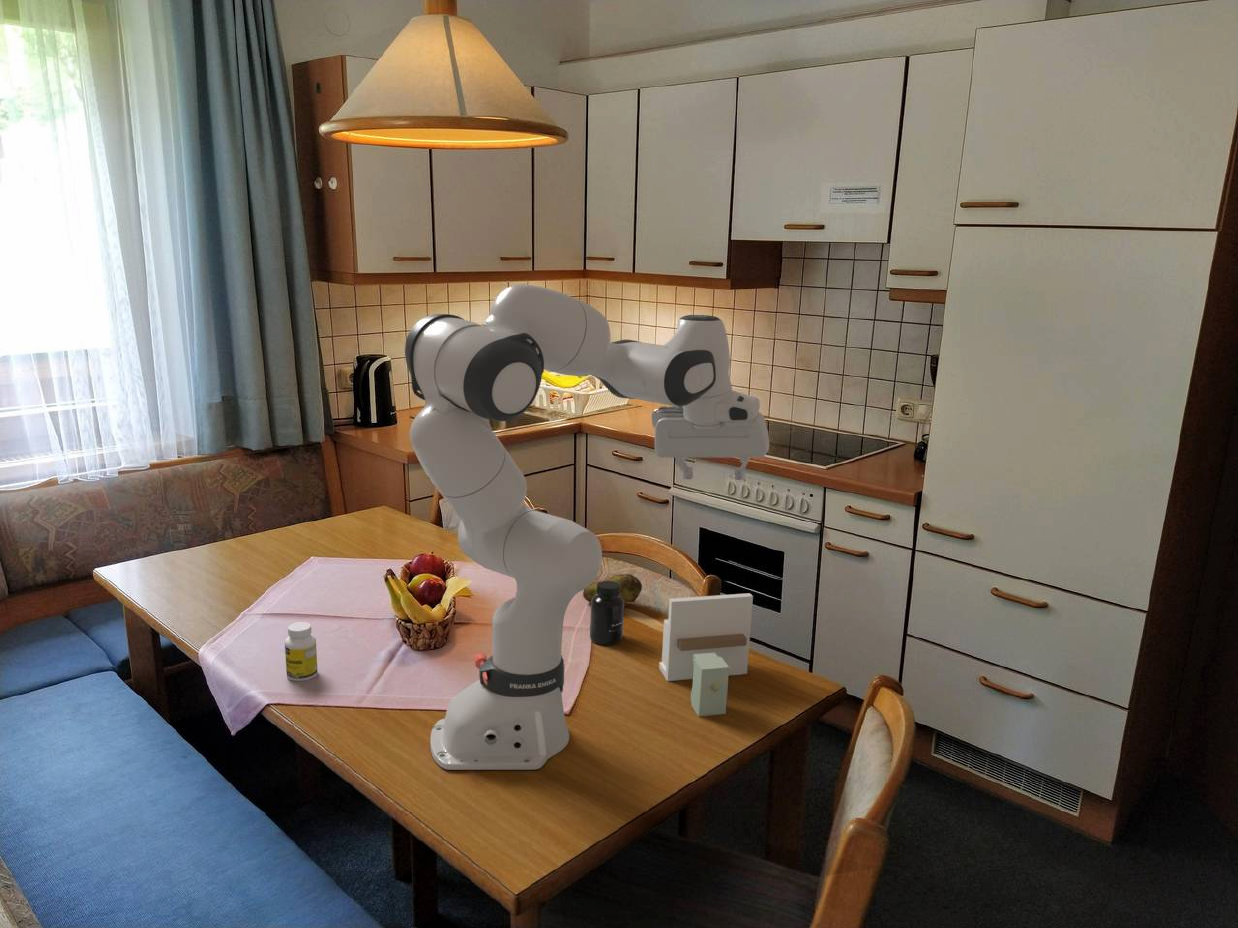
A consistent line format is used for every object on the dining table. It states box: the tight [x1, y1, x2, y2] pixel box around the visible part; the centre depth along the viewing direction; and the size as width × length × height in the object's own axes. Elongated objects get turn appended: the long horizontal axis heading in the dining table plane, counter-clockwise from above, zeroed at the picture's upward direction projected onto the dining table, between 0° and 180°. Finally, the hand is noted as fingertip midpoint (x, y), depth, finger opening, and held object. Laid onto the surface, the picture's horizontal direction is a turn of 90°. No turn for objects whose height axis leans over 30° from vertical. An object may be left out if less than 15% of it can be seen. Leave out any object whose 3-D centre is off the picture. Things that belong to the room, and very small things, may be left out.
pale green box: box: [690, 652, 730, 717], centre depth 158 cm, size 5×7×9 cm
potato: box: [582, 573, 643, 604], centre depth 201 cm, size 8×13×8 cm, turn 54°
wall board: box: [658, 592, 754, 682], centre depth 170 cm, size 16×8×16 cm, turn 105°
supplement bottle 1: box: [284, 621, 318, 682], centre depth 164 cm, size 5×5×10 cm
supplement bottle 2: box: [589, 580, 625, 646], centre depth 183 cm, size 7×7×12 cm
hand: (714, 478), depth 161 cm, fingers open, 8 cm apart
